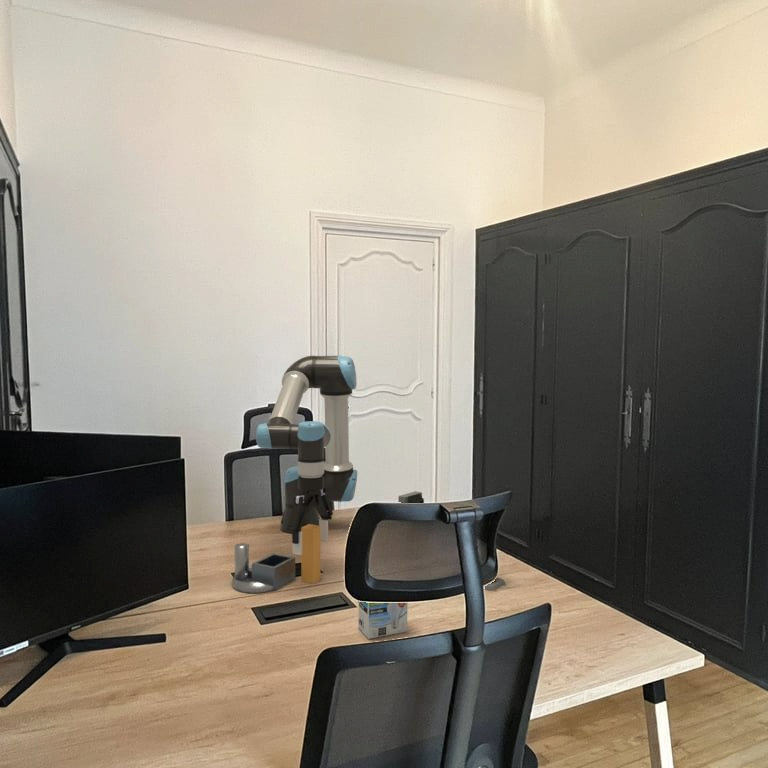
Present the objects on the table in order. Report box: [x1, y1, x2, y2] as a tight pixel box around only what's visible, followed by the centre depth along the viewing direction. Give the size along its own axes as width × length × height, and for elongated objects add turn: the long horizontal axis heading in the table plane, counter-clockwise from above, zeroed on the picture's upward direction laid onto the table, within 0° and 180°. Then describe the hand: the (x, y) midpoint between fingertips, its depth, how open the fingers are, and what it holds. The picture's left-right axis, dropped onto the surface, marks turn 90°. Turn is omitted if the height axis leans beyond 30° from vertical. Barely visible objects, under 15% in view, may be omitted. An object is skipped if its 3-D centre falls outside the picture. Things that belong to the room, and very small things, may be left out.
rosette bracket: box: [231, 542, 296, 595], centre depth 183 cm, size 15×15×11 cm
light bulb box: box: [357, 601, 409, 640], centre depth 154 cm, size 11×7×11 cm, turn 115°
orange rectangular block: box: [300, 524, 322, 585], centre depth 185 cm, size 4×4×16 cm
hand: (310, 547), depth 185 cm, fingers open, 13 cm apart
